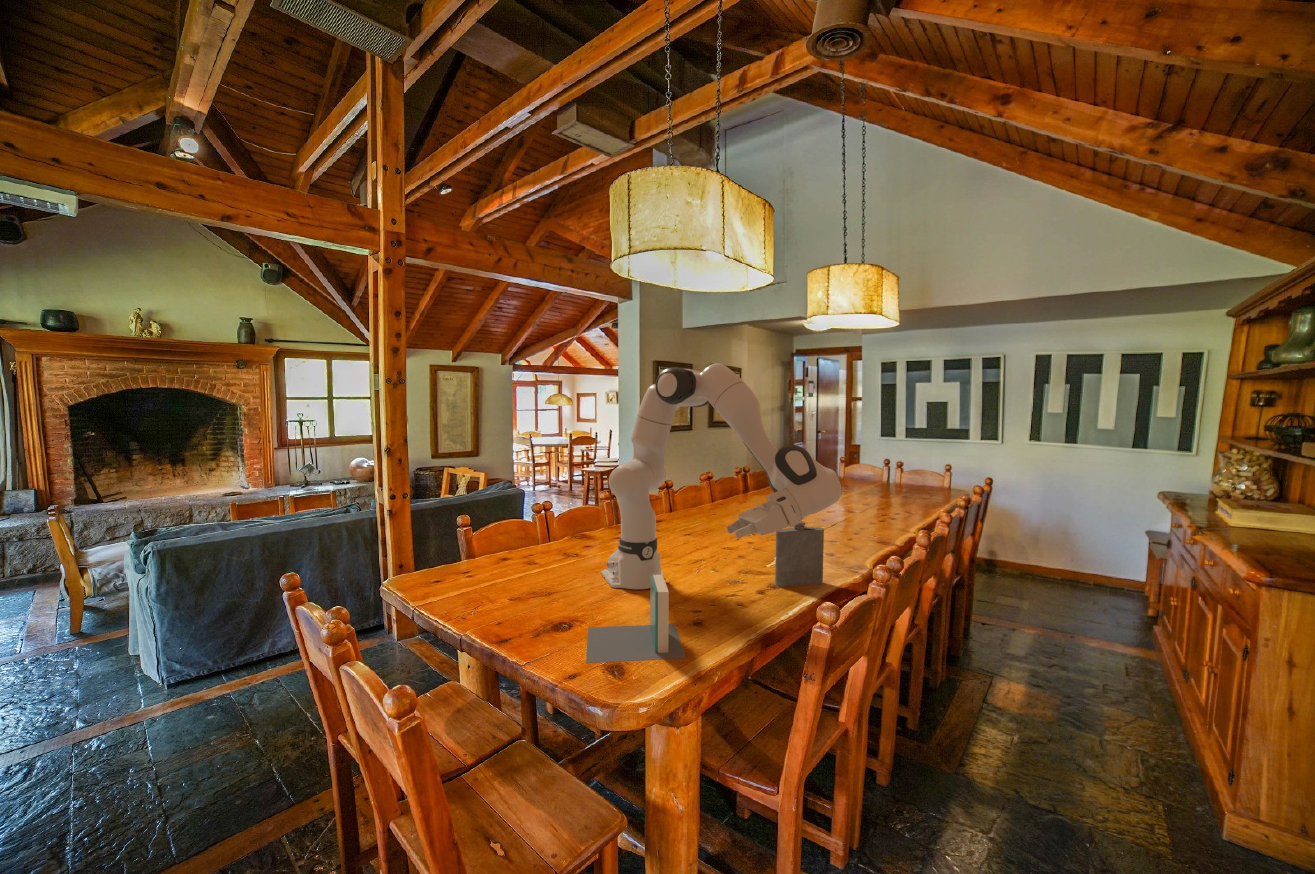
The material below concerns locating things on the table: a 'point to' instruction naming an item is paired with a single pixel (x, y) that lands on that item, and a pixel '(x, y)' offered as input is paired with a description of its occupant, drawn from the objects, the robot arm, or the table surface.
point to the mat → (629, 644)
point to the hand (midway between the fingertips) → (731, 532)
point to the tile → (659, 613)
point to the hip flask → (799, 556)
